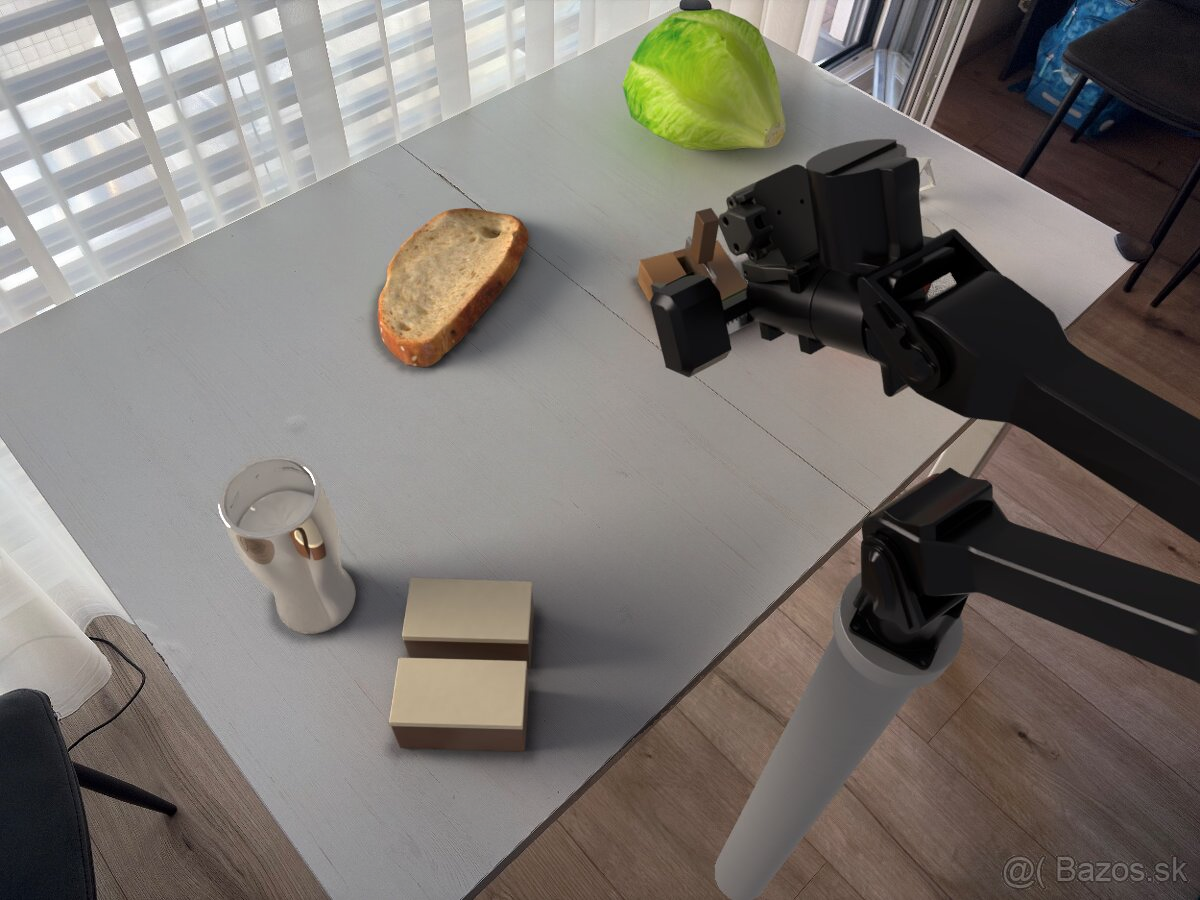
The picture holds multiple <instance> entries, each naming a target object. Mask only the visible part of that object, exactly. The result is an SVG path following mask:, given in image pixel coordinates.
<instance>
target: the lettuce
mask: <svg viewBox="0 0 1200 900" xmlns="http://www.w3.org/2000/svg"><path fill="white" fill-rule="evenodd" d="M621 85H622V88H623V94H624V99H625V101H626V106H627V109H628V111H629V114H630V117H631V119H633V120H634V121H636V122H637V123H639V124H640V125H641V126H642V127H644V128H646V129H647V130H648V131H650V132H651V133H652V134H654V135H656V136H658V137H660V138H662V139H663V140H666V141H668V142H670V143H673V144H674V145H677V146H678V147H681V148H683V149H686V150H700V151H711V152H712V151H728V150H729V151H730V150H738V149H769V148H771V147H775V146H777V145H778V144H779V143H780V142H781V141H782V139H783V137H784V136H785V133H786V118H785V114H784V110H783V106H782V102H781V94H780V82H779V79H778V75H777V72H776V68H775V65H774V62H773V60H772V58H771V55H770V52H769V50H768V47H767V45H766V43H765V40H764V38H763V36H762V34H761V31H760V29H759V28H757V27H756V26H755V25H754V24H752V23H751V22H750V21H748V20H747V19H745V18H743V17H740V16H738V15H736V14H733V13H730V12H728V11H726V10H723V9H721V8H716V9H715V8H714V9H702V10H680V11H676V12H674V13H673V12H672V13H671V14H669V15H668V16H667V17H666V18H665V19H664V20H663V21H661V22H660V23H659V24H658V25H657V26H655V27H654V28H653V29H652V30H650V32H648V33H647V34H646V35H645V36H644V38H643V39H642V40H641V41H640V43H639V44H638V46H637V47H636V49H635V51H634V53H633V54H632V57H631V61H630V63H629V65H628V68H627V71H626V73H625V76H624V79H623V81H622V84H621Z"/></svg>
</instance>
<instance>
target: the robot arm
mask: <svg viewBox="0 0 1200 900" xmlns="http://www.w3.org/2000/svg"><path fill="white" fill-rule="evenodd" d="M907 152H908V150H907V147H906V146H905V145H904V144H901V143H898V142H897V139H894V138H893V139H892V138H874V139H865V140H858V141H853V142H848V143H844V144H841V145H837V146H833V147H831V148H828V149H825V150H823V151H821V152H819V153H817V154H815V155H813V156H812V157H810V158H809V159H808V160H807V161H806V163H805V166H803V165H802V164H792V165H790V166H788V167H786V168H784V169H781V170H779V171H777V172H775V173H772V174H771V175H770V174H769V175H768V176H766V177H764V178H761V179H759V180H757V181H755V182H753V183H751V184H749V185H745V187H741V188H740V189H737V190H735V191H734V192H733V193H732V194H731V195H729V196H727V197H726V207H727V209H726V211H725V212H723V213H721V214H720V215H718V216H719V217H718V219H719V222H718V223H719V226H718V227H719V228H720V229H719V230H720V231H721V233H722V236H723V238H724V242H725V244H726V246H727V248H728V250H729V252H730V253H731V254H733V256H735V257H738V256H742V255H744V254H746V255H747V257H748V258H747V259H746V260H743V261H741V268H742V273H743V279H744V280H745V281H747V282H746V283H747V287H746V288H744V289H742V290H740V291H738V292H736V293H734V294H732V295H730V296H728V297H726V298H724V299H721V295H720V291H719V290H718V288H717V287H716V286H715V284H714V283H713V282H712V280H711V279H710V278H709V277H707V276H704V275H694V272H693V271H692V272H690V273H688V274H686V275H684V276H682V277H680V278H678V279H676V280H674V281H672V282H670V283H654V284H652V285H651V289H652V293H653V296H652V298H651V301H650V302H649V304H650V309H651V313H652V316H653V320H654V325H655V330H656V333H657V337H658V341H659V346H660V350H661V354H662V358H663V360H664V365H665V369H668V370H671V371H673V372H675V373H677V374H680V375H682V376H684V377H686V378H691V377H693V376H695V375H697V374H698V373H699V374H700V372H702V371H704V370H706V369H708V368H710V367H712V366H714V365H715V364H718V363H719V362H721V361H723V360H725V359H727V357H728V356H729V355H730V353H731V352H732V350H733V348H732V344H731V339H730V335H731V334H733V333H735V332H737V331H739V330H740V329H742V328H745V327H747V326H748V325H750V324H752V323H754V322H758V327H759V332H760V338H761V339H763V340H766V341H769V342H773V341H774V340H776V339H778V338H780V337H781V336H783V335H785V334H787V335H791V336H793V337H797V338H798V345H799V351H800V352H802V353H804V354H807V355H813V354H815V353H817V352H818V351H820V350H822V349H824V348H826V347H829V348H832V349H835V350H838V351H841V352H843V353H848V354H851V355H854V356H857V357H860V358H862V359H867V360H869V361H872V362H876V363H878V365H879V366H880V373H881V380H882V389H883V393H884V394H885V396H886V397H888V398H892V397H894V396H896V395H898V394H899V393H900V392H903V391H904V390H906V389H908V388H910V389H911V390H912V391H913V392H915V393H916V394H917V395H919V396H921V397H923V398H924V399H926V400H928V401H930V402H932V403H934V404H936V405H938V406H941V407H942V408H945V409H947V410H949V411H951V412H953V413H955V414H957V415H959V416H961V417H962V418H965V419H971V420H973V419H974V420H981V421H989V422H997V423H1006V424H1009V425H1012V426H1013V427H1016V428H1019V429H1020V430H1023V431H1025V432H1027V433H1029V434H1031V435H1032V436H1034V437H1035V438H1037V439H1038V440H1040V441H1041V442H1043V443H1044V444H1046V445H1048V446H1049V447H1051V448H1052V449H1054V450H1055V451H1057V452H1058V453H1060V454H1061V455H1062V456H1064V457H1066V458H1068V459H1069V460H1070V461H1072V462H1074V463H1075V464H1077V465H1079V466H1080V467H1081V468H1083V469H1084V470H1086V471H1087V472H1089V473H1091V474H1092V475H1094V476H1095V477H1097V478H1099V479H1100V480H1102V481H1103V482H1105V483H1106V484H1108V485H1109V486H1111V487H1112V488H1114V489H1115V490H1117V491H1119V492H1120V493H1122V494H1123V495H1125V496H1126V497H1128V498H1129V499H1130V500H1133V501H1134V502H1135V503H1137V504H1138V505H1140V506H1142V507H1143V508H1145V509H1147V510H1148V511H1150V512H1151V513H1153V514H1154V515H1156V516H1157V517H1158V518H1161V519H1162V520H1163V521H1165V522H1166V523H1168V524H1169V525H1172V526H1173V527H1174V528H1176V529H1178V530H1179V531H1181V532H1182V533H1183V534H1185V535H1187V536H1188V537H1190V538H1192V539H1193V540H1194V541H1196V542H1197V543H1199V544H1200V418H1198V417H1197V416H1194V415H1193V414H1191V413H1190V412H1188V411H1186V410H1184V409H1182V408H1181V407H1179V406H1177V405H1175V404H1173V403H1172V402H1170V401H1168V400H1167V399H1165V398H1163V397H1161V396H1159V395H1158V394H1156V393H1154V392H1153V391H1151V390H1148V389H1147V388H1145V387H1143V386H1141V385H1140V384H1138V383H1136V382H1134V381H1133V380H1131V379H1129V378H1127V377H1125V376H1124V375H1123V374H1120V373H1118V372H1117V371H1115V370H1114V369H1111V368H1110V367H1108V366H1106V365H1104V364H1103V363H1101V362H1099V361H1097V360H1095V359H1094V358H1092V357H1091V356H1088V355H1087V354H1086V353H1084V352H1083V351H1082V350H1081V349H1079V348H1078V347H1076V346H1075V345H1074V344H1072V342H1070V339H1069V338H1068V335H1067V333H1066V332H1065V330H1064V328H1063V325H1062V324H1061V321H1060V320H1059V318H1058V316H1057V314H1056V313H1055V311H1053V310H1052V309H1051V308H1050V307H1048V306H1047V305H1046V304H1044V303H1043V302H1042V301H1040V300H1039V299H1038V298H1036V297H1035V296H1034V295H1032V294H1031V293H1030V292H1029V291H1027V290H1025V289H1024V288H1023V287H1021V286H1020V285H1019V284H1018V283H1017V282H1015V281H1014V280H1012V279H1010V278H1009V277H1007V276H1006V275H1003V273H1001V272H1000V271H999V270H998V268H996V267H995V266H994V265H993V264H992V263H991V262H990V261H989V260H988V259H987V258H986V257H985V256H984V255H983V254H982V253H981V252H980V251H979V250H978V249H977V248H976V247H975V246H974V245H973V244H971V242H970V241H968V239H966V238H965V237H964V236H963V235H962V234H961V233H960V232H959V231H958V230H957V229H956V228H950V229H948V230H946V231H944V232H943V233H942V232H941V233H942V234H941V235H939V236H937V237H935V238H932V237H927V236H923V232H922V222H921V216H922V213H921V199H920V200H919V195H920V192H919V189H920V188H921V176H920V170H919V161H918V160H917V159H916V158H912V157H913V156H908V153H907ZM948 274H950V275H951V276H952V279H953V280H954V282H955V283H953V284H952V285H950V286H948V287H946V288H945V289H943V290H940V291H939V292H937V293H936V294H934V295H932V296H930V297H929V295H928V294H927V295H926V292H925V289H924V287H925V286H927V285H929V284H930V283H932V284H933V283H934V282H936V281H938V280H939V279H941V278H944V277H945V276H947V275H948ZM993 493H994V487H993V484H992V483H991V482H990V481H989V480H987V479H982V478H974V477H969V476H966V475H964V474H962V473H960V472H959V471H957V470H955V469H953V468H952V467H948V468H947V469H945V470H943V471H942V472H938V473H933V474H930V475H929V476H927V477H926V478H924V479H923V480H921V481H919V482H918V483H917V484H915V485H913V486H912V487H910V488H909V489H908V490H906V491H904V492H902V493H901V494H900V495H898V496H897V497H895V498H894V499H892V500H891V501H888V502H887V503H886V504H884V505H882V506H881V507H880V508H878V509H877V510H875V511H874V512H872V513H871V514H869V515H868V516H867V517H866V518H865V519H864V520H863V521H862V526H861V536H862V540H861V542H860V572H861V585H862V586H861V588H860V590H859V592H858V594H857V596H856V598H855V600H854V602H853V605H854V607H855V608H857V610H856V612H855V614H854V616H853V618H852V620H851V622H850V624H849V627H848V629H849V631H850V633H852V634H853V635H855V636H857V637H859V638H861V639H863V640H865V641H867V642H869V643H871V644H873V645H874V646H876V647H878V648H880V649H882V650H884V651H886V652H888V653H890V654H892V655H894V656H896V657H898V658H899V659H901V660H903V661H905V662H907V663H909V664H911V665H913V666H915V667H917V668H919V669H921V670H927V669H928V668H929V667H930V666H931V664H932V661H933V659H934V657H935V654H936V652H937V649H938V647H939V645H940V643H941V642H942V640H943V639H944V638H945V636H946V635H947V634H948V632H949V631H950V629H951V628H952V627H953V625H954V624H955V623H956V621H957V620H958V619H959V617H960V615H962V613H963V610H964V608H965V606H966V603H967V601H968V598H969V596H970V595H971V594H980V595H985V596H987V597H989V598H991V599H995V600H996V601H999V602H1001V603H1004V604H1006V605H1009V606H1012V607H1014V608H1016V609H1019V610H1021V611H1023V612H1026V613H1028V614H1030V615H1033V616H1035V617H1037V618H1040V619H1043V620H1045V621H1048V622H1049V623H1052V624H1054V625H1057V626H1060V627H1062V628H1065V629H1067V630H1069V631H1072V632H1075V633H1077V634H1079V635H1082V636H1084V637H1085V638H1089V639H1091V640H1094V641H1096V642H1097V643H1101V644H1103V645H1106V646H1108V647H1111V648H1113V649H1116V650H1117V651H1120V652H1122V653H1124V654H1125V653H1126V654H1127V655H1130V656H1132V657H1135V658H1137V659H1140V660H1143V661H1145V662H1147V663H1150V664H1152V665H1154V666H1156V667H1159V668H1161V669H1164V670H1166V671H1168V672H1171V673H1174V674H1176V675H1178V676H1180V677H1184V678H1186V679H1188V680H1190V681H1193V682H1195V683H1197V684H1198V685H1200V583H1198V582H1195V581H1193V580H1189V579H1186V578H1184V577H1183V578H1182V577H1179V576H1177V575H1174V574H1172V573H1167V572H1165V571H1162V570H1158V569H1155V568H1153V567H1150V566H1146V565H1143V564H1141V563H1140V564H1139V563H1137V562H1134V561H1132V560H1128V559H1124V558H1121V557H1118V556H1116V555H1112V554H1109V553H1106V552H1103V551H1100V550H1097V549H1094V548H1091V547H1088V546H1084V545H1081V544H1078V543H1075V542H1073V541H1070V540H1066V539H1063V538H1060V537H1057V536H1054V535H1051V534H1048V533H1045V532H1042V531H1039V530H1035V529H1032V528H1030V527H1026V526H1023V525H1021V524H1017V523H1015V522H1012V521H1010V520H1009V519H1008V518H1007V516H1006V514H1005V513H1004V511H1003V510H1002V509H1001V507H1000V506H999V504H998V503H997V501H996V500H995V499H994V494H993ZM853 626H856V627H857V628H858V629H857V630H856V629H854V628H853ZM921 661H924V662H925V663H926V665H923V664H922V663H921Z"/></svg>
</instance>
